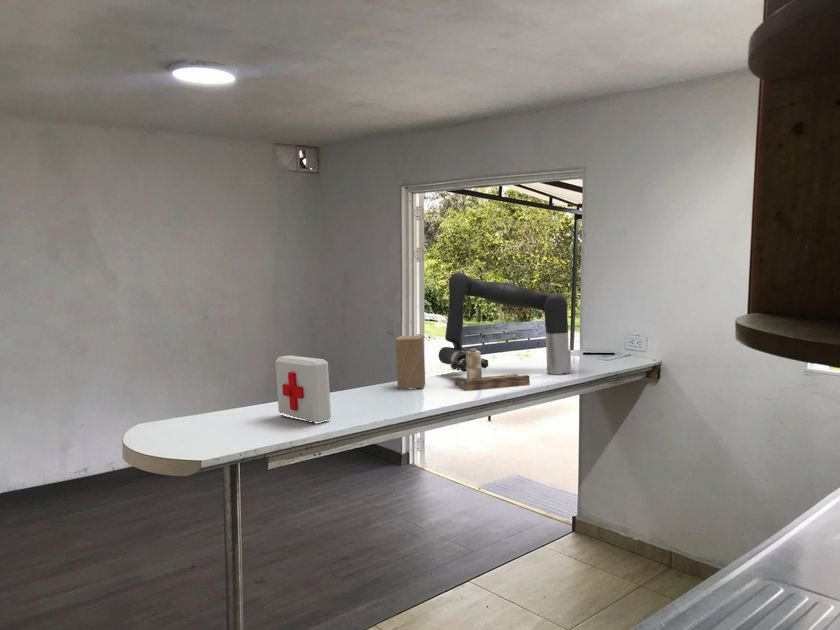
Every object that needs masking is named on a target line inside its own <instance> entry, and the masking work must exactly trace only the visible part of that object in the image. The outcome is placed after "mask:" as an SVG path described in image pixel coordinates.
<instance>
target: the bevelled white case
mask: <svg viewBox="0 0 840 630" xmlns="http://www.w3.org/2000/svg"><path fill="white" fill-rule="evenodd" d="M275 371H276V373H275V374H276V387H277V388H276V390H277V391H276V392H277V405H278V408H277V409H278V413H279V412H280V413H284V414H287V415H290V416H293V417H297V418H301V419H305V420H308V421H312V422H321V421H324V420H328V419H329V420H330V419H331V418H332V411H331V396H330V395H331V393H330V380H329V379H330V378H329V377H330V376H329V362H328V361H327V360H325V359H322V358H316V357H315V358H314V357H308V356H307V357H306V356H297V355H284V356H283V355H282V356H278V357H277V359H276V360H275ZM329 420H328V421H329Z"/></svg>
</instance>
